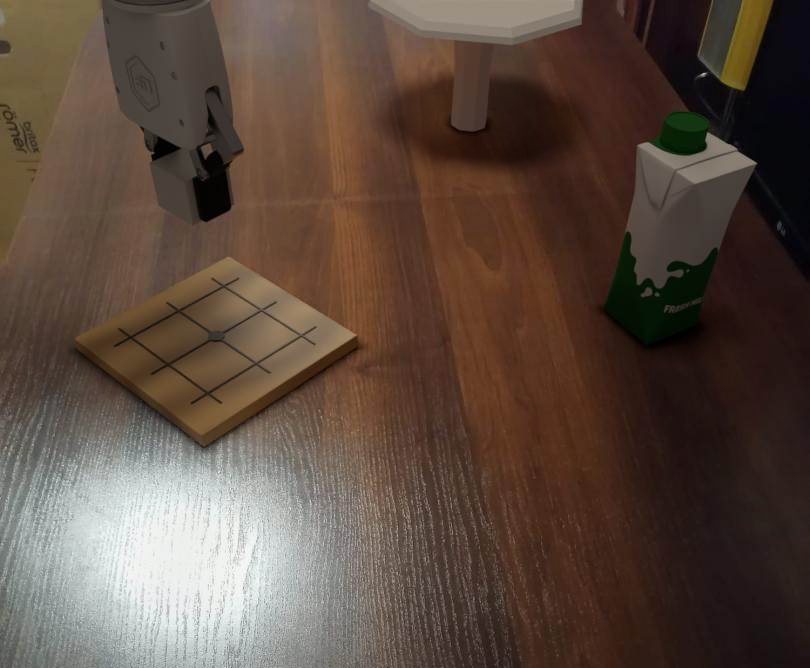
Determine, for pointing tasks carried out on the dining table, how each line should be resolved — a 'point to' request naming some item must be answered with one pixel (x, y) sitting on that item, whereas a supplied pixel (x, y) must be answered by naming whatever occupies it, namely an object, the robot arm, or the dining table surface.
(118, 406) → the dining table surface
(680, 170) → the milk carton
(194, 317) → the board
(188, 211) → the two-tone grey box
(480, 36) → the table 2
